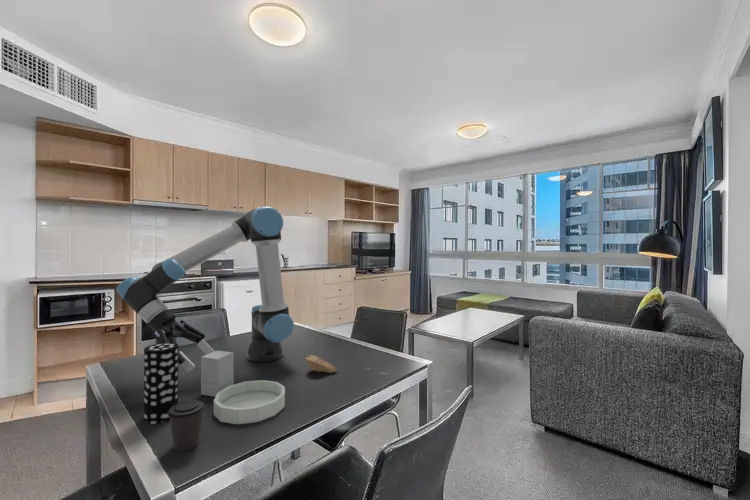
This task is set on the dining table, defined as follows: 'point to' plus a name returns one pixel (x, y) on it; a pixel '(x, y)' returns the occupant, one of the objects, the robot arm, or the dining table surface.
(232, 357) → the supplement box
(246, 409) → the bowl
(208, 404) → the dining table surface
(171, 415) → the coffee cup
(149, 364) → the white-spotted black cylinder
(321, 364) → the pottery oil lamp
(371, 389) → the dining table surface
